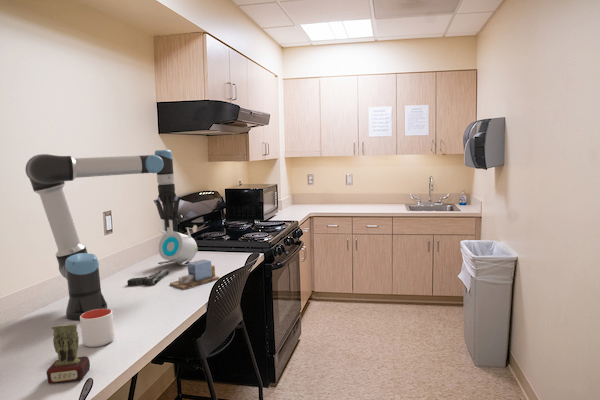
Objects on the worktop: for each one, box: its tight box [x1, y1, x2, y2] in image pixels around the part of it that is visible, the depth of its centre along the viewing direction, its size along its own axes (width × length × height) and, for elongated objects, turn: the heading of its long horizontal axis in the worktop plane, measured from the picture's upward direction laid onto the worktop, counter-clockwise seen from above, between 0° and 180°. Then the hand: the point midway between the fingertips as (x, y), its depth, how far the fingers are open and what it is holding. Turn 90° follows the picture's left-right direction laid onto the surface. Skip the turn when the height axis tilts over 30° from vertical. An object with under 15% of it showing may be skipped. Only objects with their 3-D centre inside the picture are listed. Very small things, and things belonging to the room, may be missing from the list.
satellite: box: [157, 224, 199, 266], centre depth 261 cm, size 23×20×25 cm
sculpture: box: [46, 324, 91, 384], centre depth 134 cm, size 10×8×15 cm
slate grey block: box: [187, 258, 212, 282], centre depth 226 cm, size 9×6×8 cm
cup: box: [79, 308, 116, 348], centre depth 158 cm, size 10×10×10 cm
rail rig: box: [169, 264, 221, 290], centre depth 224 cm, size 20×12×6 cm, turn 136°
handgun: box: [127, 268, 170, 287], centre depth 233 cm, size 20×3×14 cm
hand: (170, 233), depth 219 cm, fingers closed
